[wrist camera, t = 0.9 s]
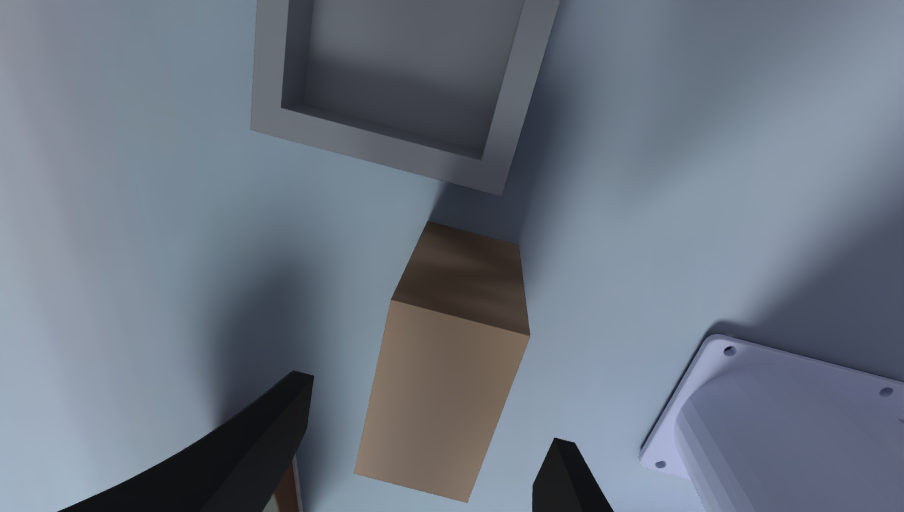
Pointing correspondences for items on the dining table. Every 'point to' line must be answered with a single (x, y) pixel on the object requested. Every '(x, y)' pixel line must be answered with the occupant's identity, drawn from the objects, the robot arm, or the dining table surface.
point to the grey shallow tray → (402, 80)
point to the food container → (287, 492)
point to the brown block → (445, 363)
